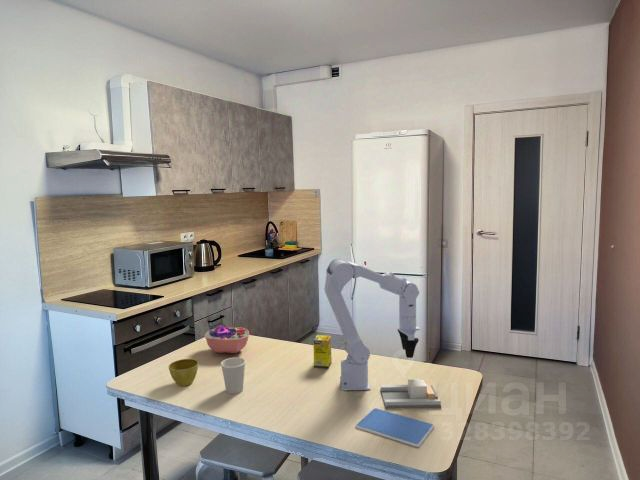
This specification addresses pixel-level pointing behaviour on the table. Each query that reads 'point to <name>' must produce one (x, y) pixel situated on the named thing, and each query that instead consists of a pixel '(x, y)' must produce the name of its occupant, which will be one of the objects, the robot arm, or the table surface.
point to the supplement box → (322, 351)
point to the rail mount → (405, 398)
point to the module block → (417, 389)
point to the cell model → (227, 339)
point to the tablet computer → (395, 427)
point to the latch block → (430, 392)
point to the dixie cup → (233, 374)
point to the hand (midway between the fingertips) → (407, 353)
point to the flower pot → (183, 371)
